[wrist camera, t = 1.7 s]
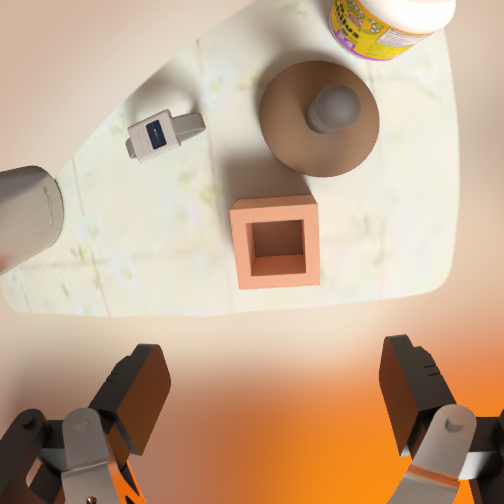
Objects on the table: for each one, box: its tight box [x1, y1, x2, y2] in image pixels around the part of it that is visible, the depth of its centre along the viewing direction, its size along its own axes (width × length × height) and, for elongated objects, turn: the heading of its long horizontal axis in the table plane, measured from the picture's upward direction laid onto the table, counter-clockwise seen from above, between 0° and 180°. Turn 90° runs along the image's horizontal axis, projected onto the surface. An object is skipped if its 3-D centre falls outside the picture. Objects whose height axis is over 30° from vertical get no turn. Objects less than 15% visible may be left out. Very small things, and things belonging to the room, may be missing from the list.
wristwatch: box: [126, 109, 206, 163], centre depth 22 cm, size 6×3×5 cm, turn 108°
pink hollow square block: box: [229, 194, 320, 289], centre depth 24 cm, size 6×6×4 cm
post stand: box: [260, 61, 379, 177], centre depth 18 cm, size 9×9×10 cm
